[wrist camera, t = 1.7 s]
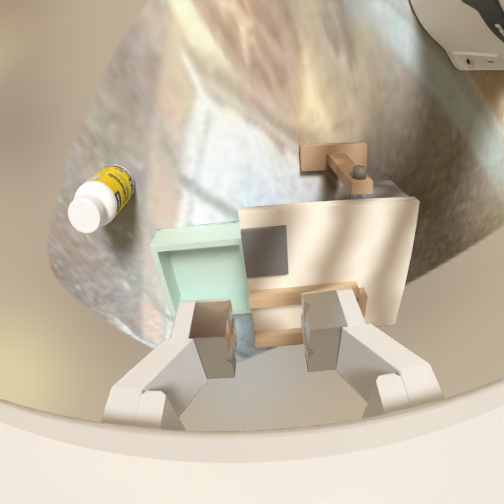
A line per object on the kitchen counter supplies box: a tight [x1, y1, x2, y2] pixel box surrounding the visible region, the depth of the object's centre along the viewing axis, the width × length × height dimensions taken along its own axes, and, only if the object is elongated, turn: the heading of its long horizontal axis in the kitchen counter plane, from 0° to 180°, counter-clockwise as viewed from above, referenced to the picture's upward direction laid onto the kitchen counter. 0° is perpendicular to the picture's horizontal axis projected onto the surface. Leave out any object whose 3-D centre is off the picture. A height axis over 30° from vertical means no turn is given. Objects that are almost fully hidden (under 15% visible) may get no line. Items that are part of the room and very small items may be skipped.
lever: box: [239, 180, 420, 348], centre depth 34 cm, size 17×16×9 cm
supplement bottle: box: [68, 165, 135, 233], centre depth 33 cm, size 5×5×10 cm
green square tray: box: [150, 221, 252, 318], centre depth 42 cm, size 12×12×4 cm
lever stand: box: [300, 143, 373, 195], centre depth 36 cm, size 8×22×11 cm, turn 6°
